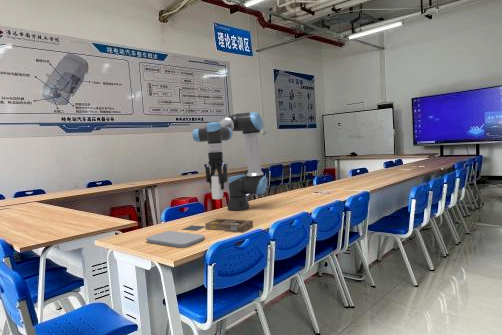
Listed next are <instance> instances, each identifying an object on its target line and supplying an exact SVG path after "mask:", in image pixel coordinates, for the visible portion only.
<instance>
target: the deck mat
mask: <svg viewBox="0 0 502 335" xmlns="http://www.w3.org/2000/svg"><path fill="white" fill-rule="evenodd" d="M204 228H205V225H188V226H187V227H184V228H182V229H180V230H182V231H191V232H192V231H193V232H198V231H200V230H202V229H204Z"/></svg>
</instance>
